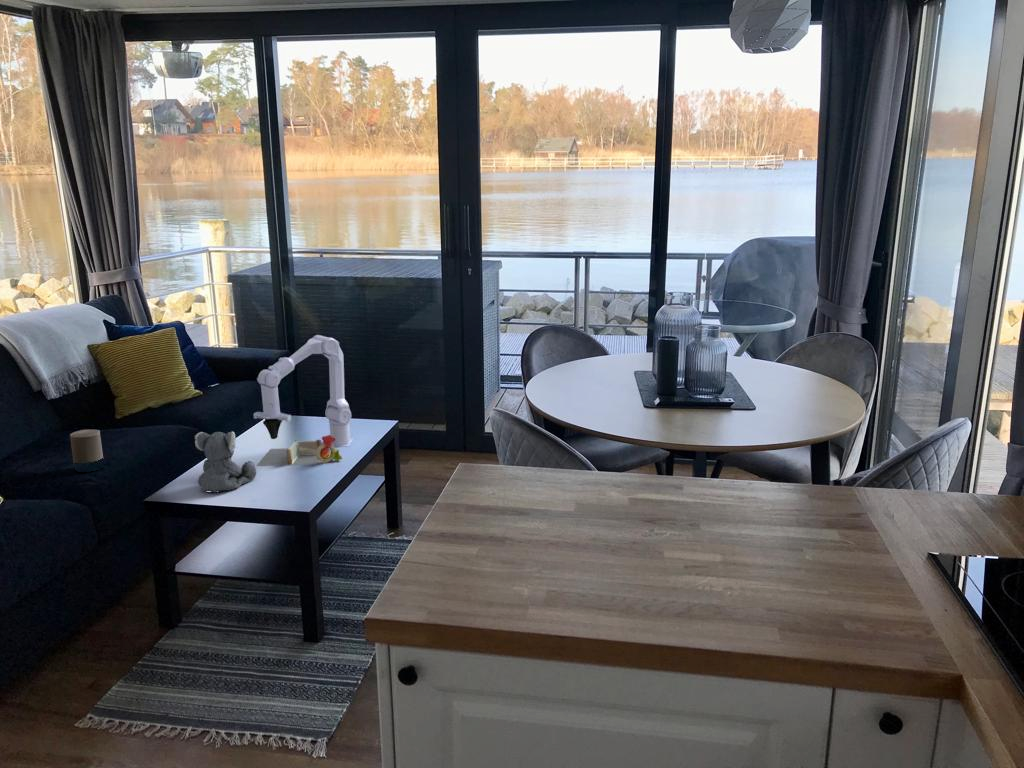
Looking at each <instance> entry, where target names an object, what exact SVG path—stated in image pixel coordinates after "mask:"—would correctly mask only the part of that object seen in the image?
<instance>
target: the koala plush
mask: <svg viewBox="0 0 1024 768" xmlns="http://www.w3.org/2000/svg"><path fill="white" fill-rule="evenodd" d="M194 439H195V441H194V443H195V447H196V449H197V450H200V451H201V452H204V455H205V457H206V459H205V460H204V461H203V465H202V470H203V473H201V474H200V475H199V477H198V481H197V484H198V485H199V486H200V487H201V488H202V489H203V491H204V492H206V491H211V492H210V493H212V492H215V493H216V492H217V491H219V492H222V491H225V490H228V491H229V490H230V491H231V489H232V490H236V489H235V488H237V489H239V488H240V487H241V486H242V484H243V485H245V484H248V483H251V481H253V480H254V479H255V478H256V476H257V469H256V466H255V462H254V461H252V460H248V461H245V462H244V463H243V464H242V465H241V467H240V466H239V465H238V464H237V463H236V462H235V461H233V460H232V458H233V455H234V452H235V449H236V448H237V447H236V441H237V440H236V433H235V432H234V431H230V432H227V433H225V432H221V431H215V432H213V433H210V434H208V433H206V432H203V431H200V432H198V433H196V434H195V435H194ZM247 482H248V483H247ZM217 493H218V492H217Z"/></svg>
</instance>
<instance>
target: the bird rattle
mask: <svg viewBox="0 0 1024 768" xmlns="http://www.w3.org/2000/svg"><path fill="white" fill-rule="evenodd" d="M335 440H336V439H335V438H333V437H332V436H331V435H330V434H328V435H325V436H324V435H323V436H322V437H321V441H323V443H321V445H320V446H319V447H318V448H317V451H316V456H317V458H318V459H319V462H321V464H326V463H329V462H332V460H334V462H339V461H340V460H342V459H343V457H342V455H340V449H336V447H334V446H333V445H332V444H331V443H333V442H334V441H335ZM323 448H324V449H323Z"/></svg>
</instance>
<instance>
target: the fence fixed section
mask: <svg viewBox="0 0 1024 768" xmlns="http://www.w3.org/2000/svg"><path fill="white" fill-rule="evenodd" d="M321 444H322V439H316V440H300V441H298V448H299V454H316V451H317V448H318V447H319V446H320V445H321Z"/></svg>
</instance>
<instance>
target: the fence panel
mask: <svg viewBox="0 0 1024 768" xmlns="http://www.w3.org/2000/svg"><path fill="white" fill-rule="evenodd" d="M298 448H299V444H298V440H297V439H296V440H294V442H293V443H292V444H291V445H290V446H289V449H287V450H286V451H287V462H288V464H292V462H293V460H294V459H295V458H296V456H297V455H298Z"/></svg>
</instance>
